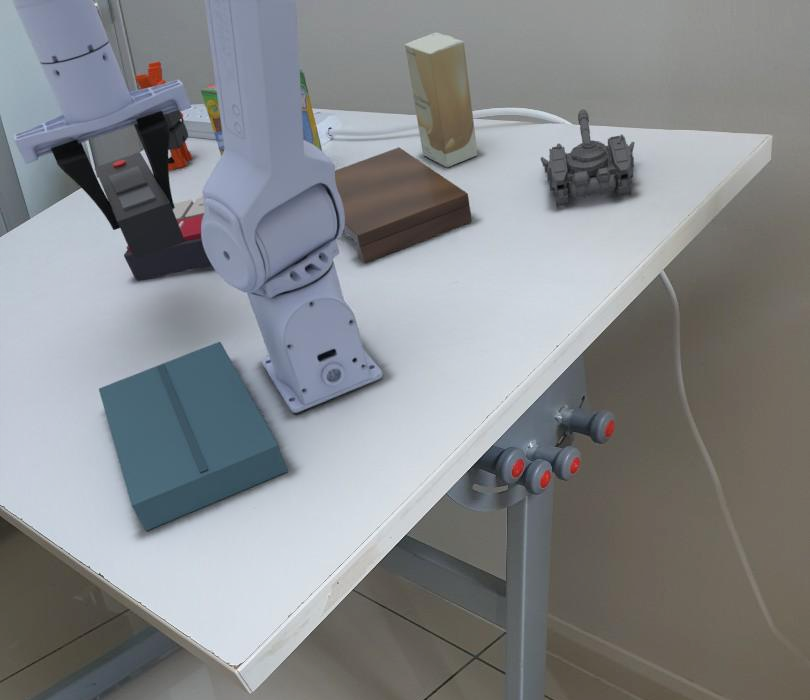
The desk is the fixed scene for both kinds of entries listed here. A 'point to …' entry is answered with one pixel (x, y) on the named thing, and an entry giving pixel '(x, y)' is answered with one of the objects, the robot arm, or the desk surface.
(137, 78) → the toy animal
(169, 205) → the remote
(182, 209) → the calculator
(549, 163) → the tank toy
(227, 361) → the teal grooved block
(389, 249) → the wooden keepsake box
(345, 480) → the desk surface
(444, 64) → the cosmetic box
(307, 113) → the chalk box
